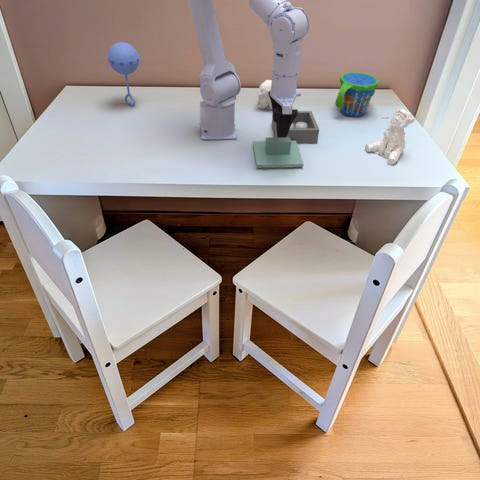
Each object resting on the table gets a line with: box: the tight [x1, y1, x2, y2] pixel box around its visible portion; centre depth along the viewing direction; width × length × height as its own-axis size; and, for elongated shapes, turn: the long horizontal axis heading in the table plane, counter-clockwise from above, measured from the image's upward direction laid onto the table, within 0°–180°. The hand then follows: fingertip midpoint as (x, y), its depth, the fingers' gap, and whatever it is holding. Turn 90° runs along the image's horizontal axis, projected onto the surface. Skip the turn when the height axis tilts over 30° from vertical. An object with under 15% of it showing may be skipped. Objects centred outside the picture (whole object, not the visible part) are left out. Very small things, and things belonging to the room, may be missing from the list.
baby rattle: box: [107, 41, 140, 107], centre depth 118 cm, size 9×9×18 cm
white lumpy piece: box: [257, 79, 272, 110], centre depth 123 cm, size 6×8×12 cm
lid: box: [252, 136, 305, 169], centre depth 101 cm, size 11×11×5 cm
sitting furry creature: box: [364, 107, 416, 166], centre depth 101 cm, size 10×9×12 cm
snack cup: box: [334, 72, 379, 118], centre depth 119 cm, size 16×10×10 cm
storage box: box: [271, 110, 320, 145], centre depth 111 cm, size 11×11×4 cm
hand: (279, 129), depth 98 cm, fingers open, 7 cm apart
